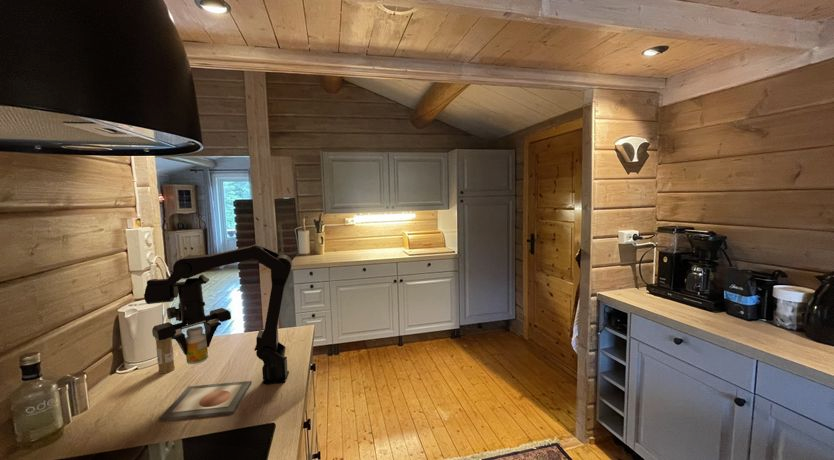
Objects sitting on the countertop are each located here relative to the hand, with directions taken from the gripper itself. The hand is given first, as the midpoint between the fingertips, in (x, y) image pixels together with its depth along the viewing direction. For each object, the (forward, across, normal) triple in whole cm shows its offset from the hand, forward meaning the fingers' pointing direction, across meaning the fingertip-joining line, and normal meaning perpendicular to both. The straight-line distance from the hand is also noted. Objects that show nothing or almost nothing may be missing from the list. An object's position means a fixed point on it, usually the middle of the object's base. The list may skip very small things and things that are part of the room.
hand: (196, 350), depth 101 cm
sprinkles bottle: (+12, +2, -23) cm, 26 cm away
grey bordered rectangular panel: (+13, +1, +8) cm, 15 cm away
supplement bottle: (+3, 0, 0) cm, 3 cm away
